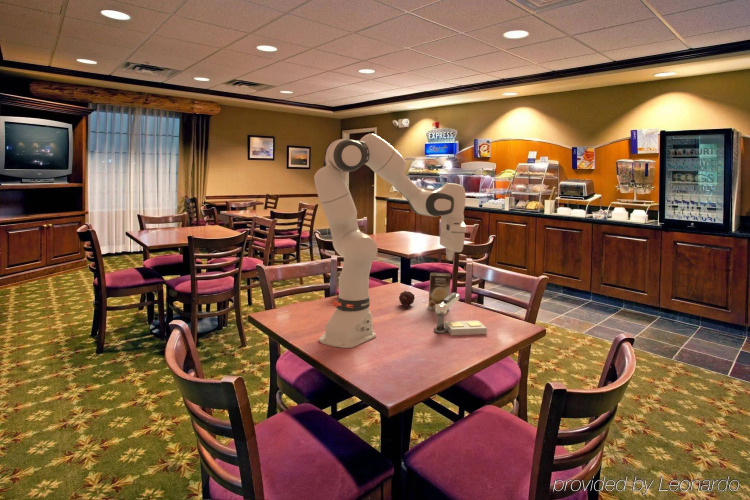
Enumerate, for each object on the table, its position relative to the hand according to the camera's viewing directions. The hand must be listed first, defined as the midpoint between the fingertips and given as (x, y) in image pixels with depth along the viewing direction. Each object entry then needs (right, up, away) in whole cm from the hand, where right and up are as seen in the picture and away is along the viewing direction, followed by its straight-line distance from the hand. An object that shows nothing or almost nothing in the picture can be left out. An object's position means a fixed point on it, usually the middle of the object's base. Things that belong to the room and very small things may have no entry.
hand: (449, 259), depth 176 cm
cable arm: (0, -19, +2) cm, 19 cm away
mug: (-44, -19, +46) cm, 66 cm away
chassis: (+6, -28, -3) cm, 28 cm away
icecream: (-15, -22, +30) cm, 40 cm away
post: (-4, -28, -4) cm, 28 cm away
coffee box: (-1, -23, +25) cm, 34 cm away
